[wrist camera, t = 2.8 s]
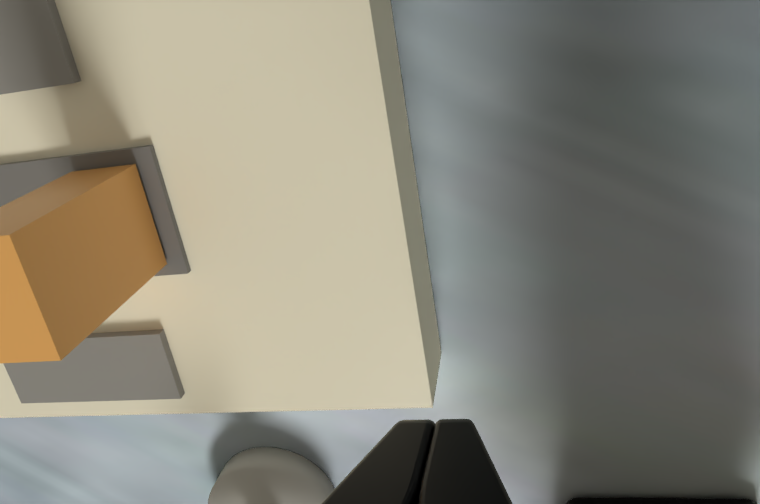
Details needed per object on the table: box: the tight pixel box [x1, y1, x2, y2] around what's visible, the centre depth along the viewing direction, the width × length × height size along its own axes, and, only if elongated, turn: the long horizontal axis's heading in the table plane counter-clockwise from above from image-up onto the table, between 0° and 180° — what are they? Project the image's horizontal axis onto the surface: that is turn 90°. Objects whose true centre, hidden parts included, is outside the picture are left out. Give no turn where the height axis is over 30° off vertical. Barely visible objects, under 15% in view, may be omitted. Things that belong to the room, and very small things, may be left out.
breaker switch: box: [0, 164, 167, 363], centre depth 16 cm, size 2×3×5 cm, turn 10°
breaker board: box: [0, 0, 441, 418], centre depth 21 cm, size 22×14×3 cm, turn 100°
